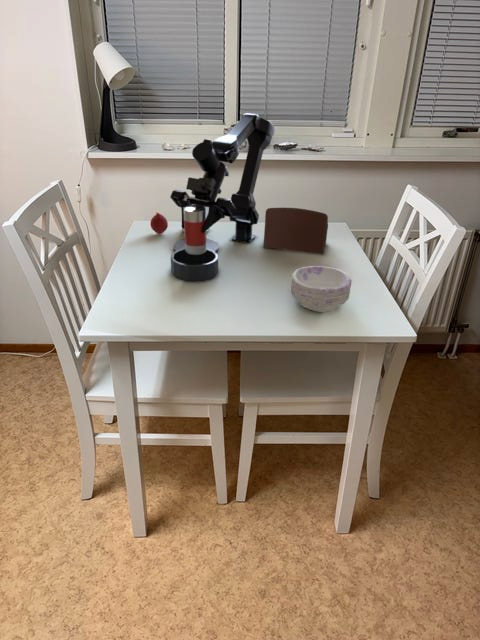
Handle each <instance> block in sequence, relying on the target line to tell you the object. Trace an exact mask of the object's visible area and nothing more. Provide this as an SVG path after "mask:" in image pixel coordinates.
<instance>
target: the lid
mask: <svg viewBox="0 0 480 640" xmlns="http://www.w3.org/2000/svg"><path fill="white" fill-rule="evenodd" d="M183 248H185V238H183V239H179V240H177V241H176V242H174V244H173V250H174V252H175V251H177V250H180V249H183ZM219 248H220V246H219V243H218V242H217V241H215V240H212V239H210V238H206V249H210V250H212V251H215V252H216V253H217V251H218V250H219Z"/></svg>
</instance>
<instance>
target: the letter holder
mask: <svg viewBox="0 0 480 640" xmlns="http://www.w3.org/2000/svg"><path fill="white" fill-rule="evenodd" d="M264 217H265V218H264V235H263V248H264V249H265V248H267V249H276V250H283V251H293V252H300V253H308V254H316V255H324V253H325V249H326V246H327V245H326V244H327V238H328V237H327V236H328V230H329V221H328V220H329V216H328V214H326V213H324V212H321V211H317V210H311V209H305V208H298V207H268V208H266V210H265V216H264Z"/></svg>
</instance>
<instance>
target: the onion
mask: <svg viewBox="0 0 480 640" xmlns="http://www.w3.org/2000/svg"><path fill="white" fill-rule="evenodd" d="M149 223H150V225H149V226H150V228H151V230H152V231H153V232H155V233H156V234H157V235H162V234H163V233H165V232H166V231H167V229H168V227H169V222H168V220H167V218H166V216H164V215H163V214H161V213H160V212H159V211H156V213H155V215H153V217H152V218H151V219H150V222H149Z"/></svg>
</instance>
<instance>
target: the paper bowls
mask: <svg viewBox="0 0 480 640" xmlns="http://www.w3.org/2000/svg"><path fill="white" fill-rule="evenodd" d="M290 279H291V280H290V295H291V296H292V297H293V298H294V299H295V300H296V301H298V303H299V304H300V306H302V307H303V308H305V309H307V310H309V311H313V312H318V313H319V312H320V313H324V312H331V311H333V310H336V309H337V308H338V307H339V306H340V305H342V304H345V303H346V302H347V301H349V300H350V295H351V289H352V278H351V276H350V275H349V274H348V273H346V272H345V271H343V270H341V269H339V268H336V267H335V268H334V267H331V266H325V265H324V266H323V265H309V266H304V267H300V268H297V269H296V270H294V271H293V273H292V274H291V278H290Z"/></svg>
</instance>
